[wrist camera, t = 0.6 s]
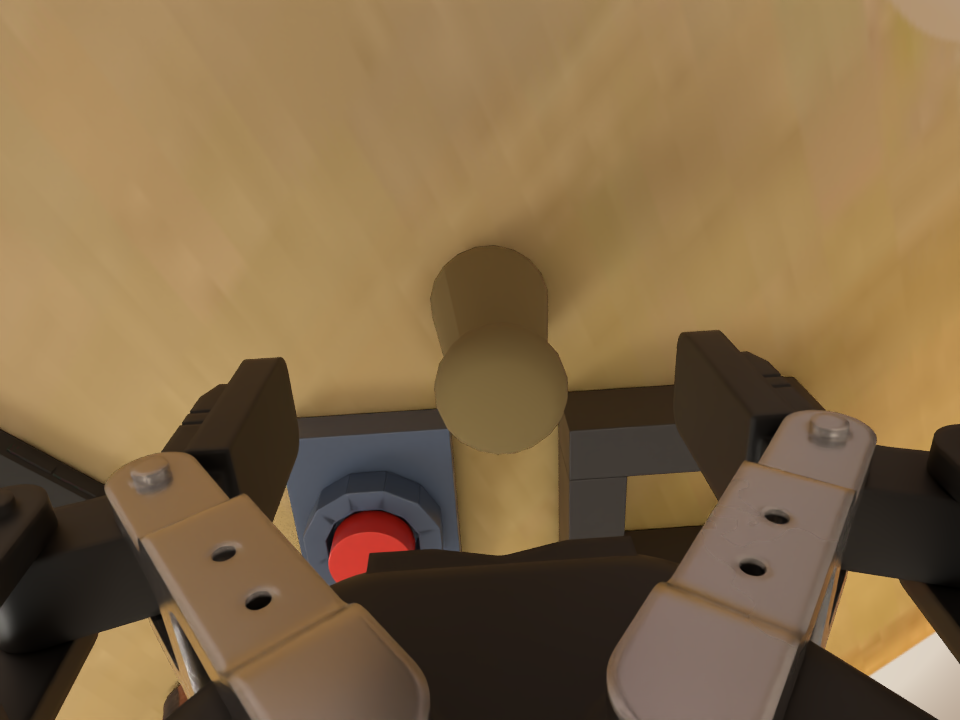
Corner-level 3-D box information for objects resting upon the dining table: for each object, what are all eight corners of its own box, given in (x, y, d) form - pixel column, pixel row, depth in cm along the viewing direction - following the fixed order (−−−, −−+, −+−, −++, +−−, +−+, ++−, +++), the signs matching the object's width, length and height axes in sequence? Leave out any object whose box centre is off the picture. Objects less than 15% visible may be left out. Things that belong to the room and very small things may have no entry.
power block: (285, 418, 38) (268, 460, 34) (449, 407, 38) (449, 447, 34) (319, 583, 43) (308, 634, 39) (463, 573, 43) (464, 623, 40)
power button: (327, 513, 36) (322, 535, 35) (411, 507, 36) (409, 529, 35) (339, 576, 38) (334, 600, 37) (418, 570, 38) (417, 594, 37)
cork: (569, 320, 36) (613, 433, 26) (469, 375, 37) (476, 503, 27) (511, 222, 33) (536, 306, 24) (407, 285, 35) (389, 389, 25)
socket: (558, 392, 38) (569, 431, 34) (793, 376, 38) (829, 413, 34) (558, 572, 43) (568, 622, 40) (763, 558, 44) (791, 606, 40)
